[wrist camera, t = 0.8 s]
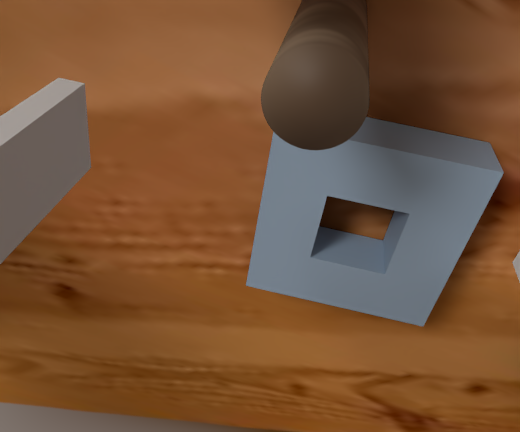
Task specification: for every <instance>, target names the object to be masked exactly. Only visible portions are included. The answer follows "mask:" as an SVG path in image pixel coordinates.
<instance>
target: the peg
mask: <svg viewBox="0 0 520 432" xmlns="http://www.w3.org/2000/svg"><path fill="white" fill-rule="evenodd" d="M369 100H370V99H369V63H368V26H367V4H366V0H302V2H301V4H300V7H299V9H298V11H297V13H296V15H295V17H294V19H293V21H292V23H291V26H290V28H289V30H288V32H287V34H286V36H285V38H284V40H283V42H282V45H281V47H280V49H279V51H278V53H277V55H276V57H275V59H274V61H273V64H272V66H271V68H270V70H269V72H268V74H267V76H266V78H265V81H264V84H263V88H262V94H261V104H262V110H263V113H264V116H265V119H266V121H267V123H268V124H269V126H270V128H271V129H272V130H273V131H274V132H275V134H276V135H278V136H279V137H280V138H281V139H282V140H284V141H285V142H287V143H289V144H290V145H293V146H295V147H298V148H301V149H306V150H325V149H330V148H333V147H336V146H338V145H340V144H343V143H344V142H346V141H347V140H349V139H350V138H351V137H352V136H354V134H355V133H356V132H357V131H358V130H359V129H360V127H361V126H362V124H363V122H364V121H365V118H366V116H367V113H368V108H369Z"/></svg>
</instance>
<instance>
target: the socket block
mask: <svg viewBox="0 0 520 432" xmlns="http://www.w3.org/2000/svg"><path fill="white" fill-rule="evenodd" d="M503 173H504V172H503V170H502V168H501V166H500V164H499V162H498V159H497V157H496V155H495V153H494V151H493V149H492V147H491V144H490V143H489V142H484V141H479V140H474V139H470V138H465V137H460V136H455V135H450V134H446V133H441V132H436V131H431V130H427V129H422V128H417V127H412V126H407V125H403V124H398V123H393V122H388V121H383V120H379V119H374V118H369V117H366V118H365V121H364V122H363V124H362V126H361V127H360V129H359V130H358V131H357V132H356V133H355V134H354V136H352V137H351V138H350V139H349V140H347V141H346V142H344V143H343V144H340V145H338V146H336V147H333V148H330V149H325V150H306V149H301V148H298V147H295V146H293V145H290V144H289V143H287V142H285V141H284V140H282V139H281V138H280V137H279V136H278V135H276V134H275V132H273V138H272V143H271V149H270V155H269V160H268V166H267V171H266V177H265V182H264V188H263V194H262V199H261V205H260V210H259V216H258V221H257V227H256V233H255V238H254V244H253V249H252V255H251V260H250V266H249V272H248V277H247V283H246V286H250V287H254V288H258V289H263V290H267V291H271V292H276V293H280V294H284V295H289V296H293V297H297V298H302V299H306V300H310V301H315V302H319V303H323V304H328V305H332V306H336V307H341V308H345V309H349V310H354V311H358V312H362V313H367V314H371V315H375V316H380V317H384V318H388V319H393V320H397V321H401V322H406V323H410V324H414V325H419V326H424V324H425V322H426V320H427V318H428V316H429V314H430V312H431V311H432V309H433V307H434V305H435V303H436V301H437V299H438V297H439V295H440V293H441V291H442V290H443V288H444V286H445V284H446V282H447V280H448V278H449V276H450V274H451V272H452V271H453V269H454V267H455V265H456V263H457V261H458V259H459V257H460V255H461V253H462V251H463V250H464V248H465V246H466V244H467V242H468V240H469V238H470V236H471V234H472V232H473V230H474V229H475V227H476V225H477V223H478V221H479V219H480V217H481V215H482V213H483V211H484V210H485V208H486V206H487V204H488V202H489V200H490V198H491V196H492V194H493V192H494V190H495V189H496V187H497V185H498V183H499V181H500V179H501V177H502V175H503ZM327 196H330V197H335V198H340V199H344V200H349V201H353V202H358V203H362V204H367V205H372V206H376V207H381V208H385V209H390V210H394V214H393V216H392V219H391V221H390V224H389V226H388V229H387V232H386V234H385V237H384V239H383V240H379V239H374V238H370V237H365V236H361V235H356V234H352V233H347V232H343V231H338V230H334V229H329V228H325V227H320V226H319V224H320V220H321V217H322V213H323V210H324V206H325V202H326V199H327Z"/></svg>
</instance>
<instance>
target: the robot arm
mask: <svg viewBox="0 0 520 432" xmlns="http://www.w3.org/2000/svg"><path fill="white" fill-rule="evenodd" d="M90 168H91V161H90V148H89V135H88V121H87V108H86V95H85V83H81V82H76V81H71V80H67V79H62V78H57V79H56V80H54V81H53V82H51V83H50V84H48V85H47V86H45V87H44V88H42V89H41V90H39V91H38V92H36V93H35V94H33V95H32V96H30V97H29V98H27V99H26V100H24V101H23V102H21V103H20V104H18V105H17V106H15V107H14V108H12V109H11V110H9V111H8V112H6V113H5V114H3V115H2V116H0V264H1V263H2V262H3V261H4V260H5V259H6V258H7V256H8V255H9V254H10V253H11V252H12V251H13V250H14V249H15V248H16V247H17V246H18V245H19V244H20V243H21V242H22V240H23V239H24V238H25V237H26V236H27V235H28V234H29V233H30V232H31V231H32V230H33V229H34V228H35V227H36V226H37V225H38V223H39V222H40V221H41V220H42V219H43V218H44V217H45V216H46V215H47V214H48V213H49V212H50V211H51V210H52V209H53V207H54V206H55V205H56V204H57V203H58V202H59V201H60V200H61V199H62V198H63V197H64V196H65V195H66V194H67V193H68V191H69V190H70V189H71V188H72V187H73V186H74V185H75V184H76V183H77V182H78V181H79V180H80V179H81V178H82V177H83V175H84V174H85V173H86V172H87V171H88V170H89V169H90ZM512 263H513V265H514V268H515V271H516V273H517V276H518V279H519V281H520V251H519V253H518V254H517V256H516V258H515V259H514V261H513V262H512Z"/></svg>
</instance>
